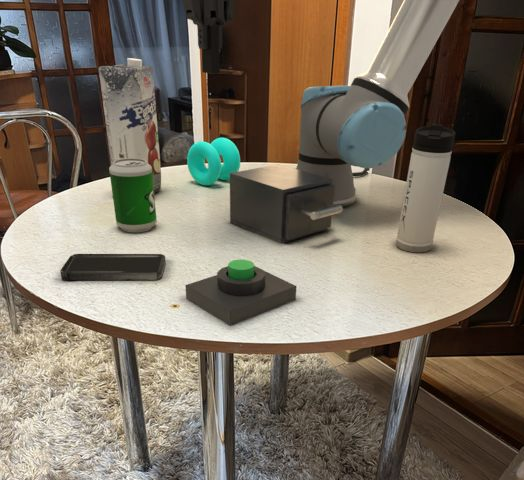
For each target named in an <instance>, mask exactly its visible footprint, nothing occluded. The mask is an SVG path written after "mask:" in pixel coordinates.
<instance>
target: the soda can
mask: <svg viewBox="0 0 524 480" xmlns="http://www.w3.org/2000/svg"><path fill="white" fill-rule="evenodd" d="M108 170H109V177H110V186H111V193H112V200H113V208H114V217H115V223H116V225H117V226H118V227H119V228H121V230H122V231H124V232H126V233H144V232H148V231H150V230H152V229H153V228H154V226H155V225H156V223H157V210H156V209H157V208H156V198H155V193H154V186H153V174H152V167H151V166H150V165H149V164H148V163H147V161H146V160H143V159H137V158H126V159H119V160H115V161H114V162H113V164H112V165H111V164H110V166H109V167H108Z"/></svg>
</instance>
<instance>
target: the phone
mask: <svg viewBox="0 0 524 480" xmlns="http://www.w3.org/2000/svg"><path fill="white" fill-rule="evenodd" d="M166 264H167V263H166V255H165V254H162V253H74V254H71V255H70V256H69V257H68V258H67V260H66V261H65V263H64V264H63V266H62V267H61V268H60V271H59V272H60V277H61V279H62V280H63V281H157V280H160V279H162V278H163V275H164V272H165V271H164V270H165V267H166Z"/></svg>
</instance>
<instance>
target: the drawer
mask: <svg viewBox="0 0 524 480" xmlns="http://www.w3.org/2000/svg"><path fill="white" fill-rule="evenodd" d="M334 189H335V186H333V185H326V186H318V187H314V188H309V189H305V190H300V191H296V192H292V193H287V194H286V196H285V216H284V237H283V238H284V239H286V240H290V239H293V238H297V237H300V236H303V235H307V234H310V233H313V232H317V231H320V230H323V229H327V228H328V229H330V228H331V227H332V219H333V215H336V214H340V213H342V212H343V210H344V209H343V208H344V207H342V206H341V205H336V206H334V205H333V199H334Z"/></svg>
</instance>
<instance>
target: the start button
mask: <svg viewBox="0 0 524 480" xmlns="http://www.w3.org/2000/svg"><path fill="white" fill-rule="evenodd" d="M227 266H228V277H229V278H231V279H236V280H248V279H251V278H254V266H255V263H254V262H253V261H251V260H248V259H241V258H239V259H233V260H231V261H229V262H228V264H227Z"/></svg>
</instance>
